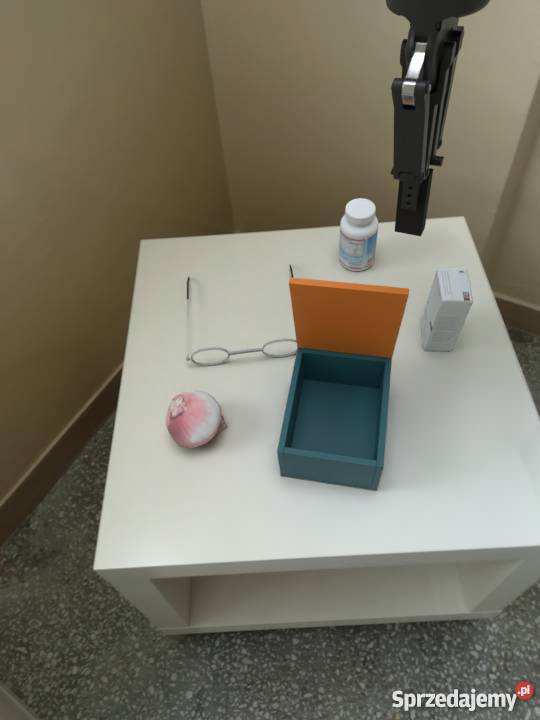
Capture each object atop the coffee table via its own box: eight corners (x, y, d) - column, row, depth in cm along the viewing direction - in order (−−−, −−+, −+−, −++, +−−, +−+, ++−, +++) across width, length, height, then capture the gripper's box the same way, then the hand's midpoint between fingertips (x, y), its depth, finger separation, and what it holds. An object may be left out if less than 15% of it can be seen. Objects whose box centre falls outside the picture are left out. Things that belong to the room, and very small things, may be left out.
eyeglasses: (188, 369, 80) (183, 354, 77) (188, 280, 91) (183, 263, 88) (306, 355, 80) (305, 339, 77) (291, 267, 91) (290, 250, 88)
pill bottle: (364, 242, 93) (369, 190, 83) (380, 265, 89) (388, 213, 80) (332, 253, 92) (334, 201, 83) (347, 277, 89) (351, 226, 79)
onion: (181, 401, 77) (169, 375, 72) (232, 407, 76) (225, 381, 70) (166, 451, 73) (153, 428, 67) (220, 459, 72) (211, 436, 66)
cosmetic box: (419, 320, 83) (434, 265, 73) (449, 320, 82) (467, 265, 72) (423, 353, 79) (439, 300, 69) (454, 353, 79) (474, 300, 69)
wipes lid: (408, 294, 55) (409, 288, 55) (288, 283, 57) (289, 276, 57) (392, 358, 69) (392, 352, 70) (297, 347, 71) (297, 342, 72)
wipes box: (376, 491, 68) (383, 467, 62) (280, 476, 70) (276, 451, 64) (385, 387, 76) (391, 357, 70) (299, 377, 78) (297, 346, 72)
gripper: (416, -81, 41) (392, 190, 59) (360, -35, 34) (352, 260, 52) (518, -83, 39) (461, 202, 56) (481, -34, 31) (429, 276, 49)
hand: (409, 229), depth 54 cm, fingers closed
